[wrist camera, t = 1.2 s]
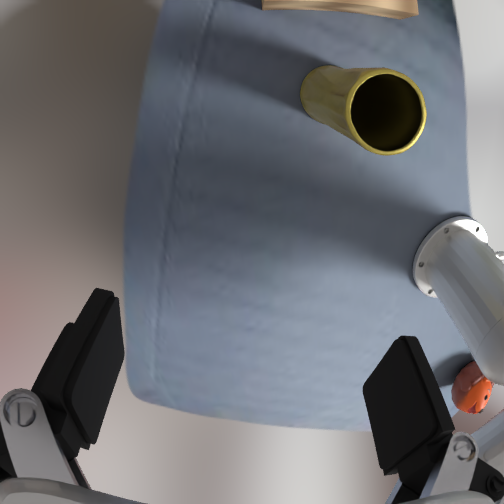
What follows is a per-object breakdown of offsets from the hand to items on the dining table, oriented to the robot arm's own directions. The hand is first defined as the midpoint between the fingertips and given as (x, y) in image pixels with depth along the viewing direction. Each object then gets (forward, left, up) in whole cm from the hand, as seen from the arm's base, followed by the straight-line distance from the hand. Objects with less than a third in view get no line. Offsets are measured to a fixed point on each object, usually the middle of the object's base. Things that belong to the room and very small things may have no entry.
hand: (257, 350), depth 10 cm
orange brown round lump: (-42, +44, -25) cm, 66 cm away
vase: (-8, -6, -25) cm, 27 cm away
